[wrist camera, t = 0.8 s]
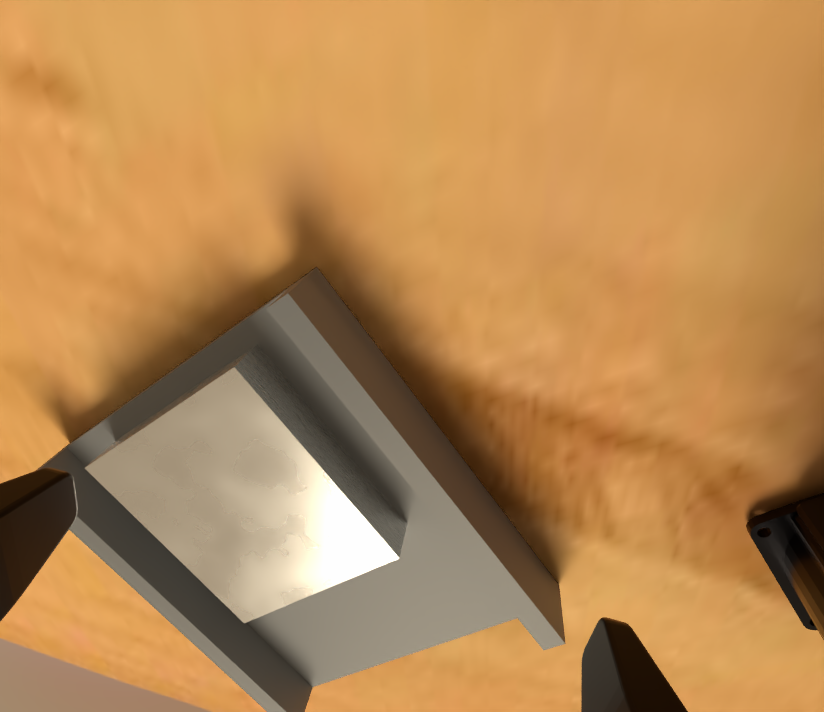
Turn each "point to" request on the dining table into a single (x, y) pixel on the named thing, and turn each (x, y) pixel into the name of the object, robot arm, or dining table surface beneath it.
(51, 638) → the dining table surface
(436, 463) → the slide box
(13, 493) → the robot arm
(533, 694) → the dining table surface
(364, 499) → the cover plate
